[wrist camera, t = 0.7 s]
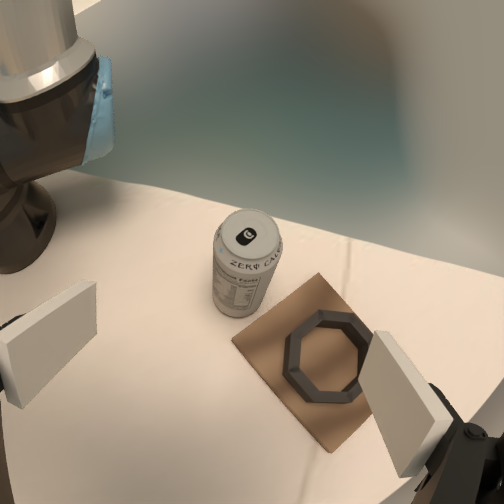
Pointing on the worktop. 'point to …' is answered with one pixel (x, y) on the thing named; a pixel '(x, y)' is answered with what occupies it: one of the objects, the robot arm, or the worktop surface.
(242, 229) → the energy drink can
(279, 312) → the wooden can holder
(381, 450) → the worktop surface
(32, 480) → the worktop surface
